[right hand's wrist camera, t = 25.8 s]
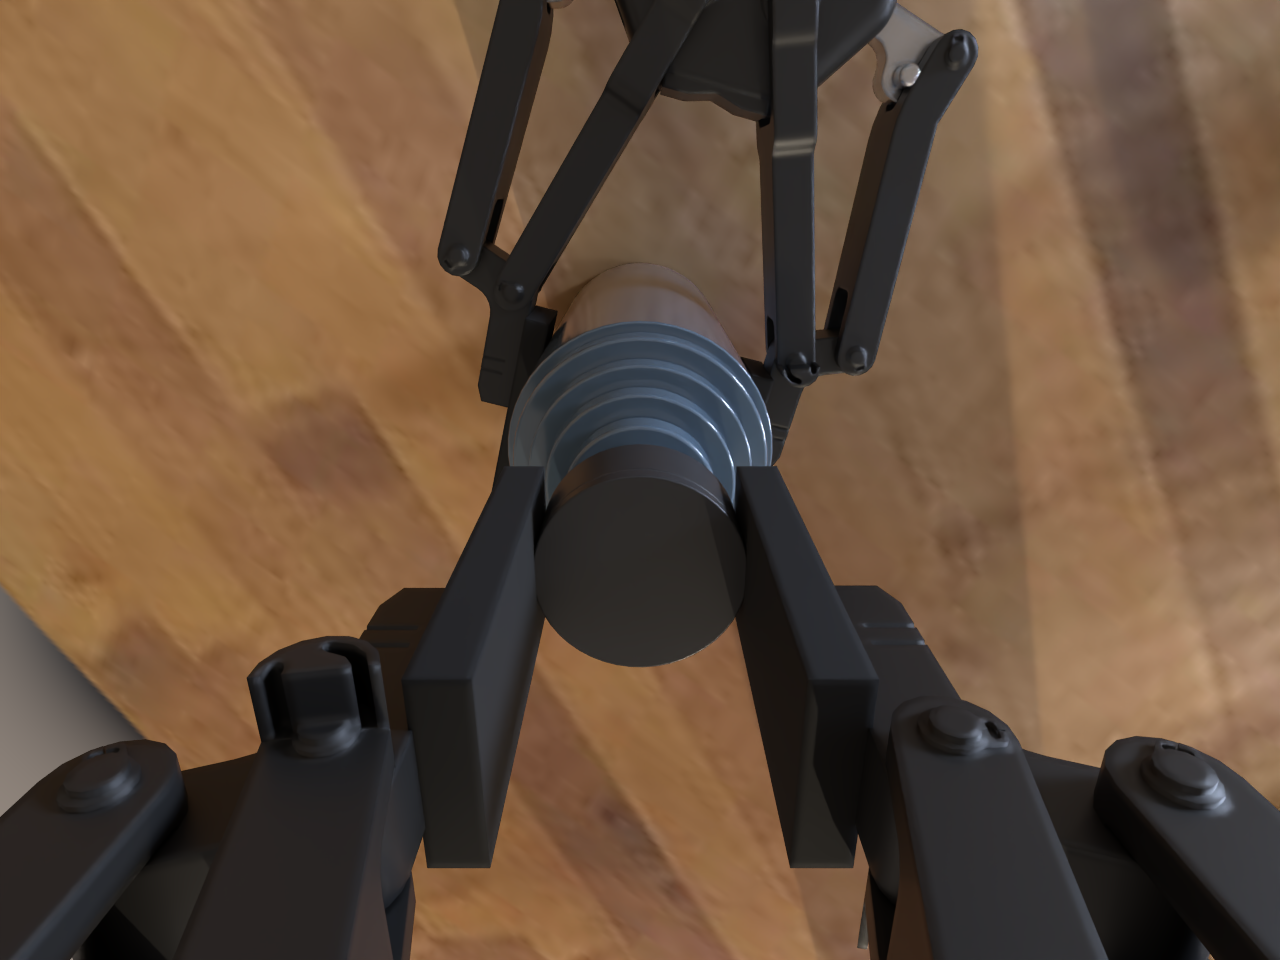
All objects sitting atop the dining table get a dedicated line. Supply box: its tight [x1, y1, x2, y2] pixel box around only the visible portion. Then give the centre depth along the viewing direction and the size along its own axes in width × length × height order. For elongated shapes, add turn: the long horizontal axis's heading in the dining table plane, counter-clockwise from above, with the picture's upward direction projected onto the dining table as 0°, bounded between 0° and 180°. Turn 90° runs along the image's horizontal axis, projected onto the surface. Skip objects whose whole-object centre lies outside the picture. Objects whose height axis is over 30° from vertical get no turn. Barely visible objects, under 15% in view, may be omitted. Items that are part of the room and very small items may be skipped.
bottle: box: [508, 263, 772, 509], centre depth 23 cm, size 7×7×19 cm
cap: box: [534, 444, 746, 667], centre depth 14 cm, size 4×4×2 cm
